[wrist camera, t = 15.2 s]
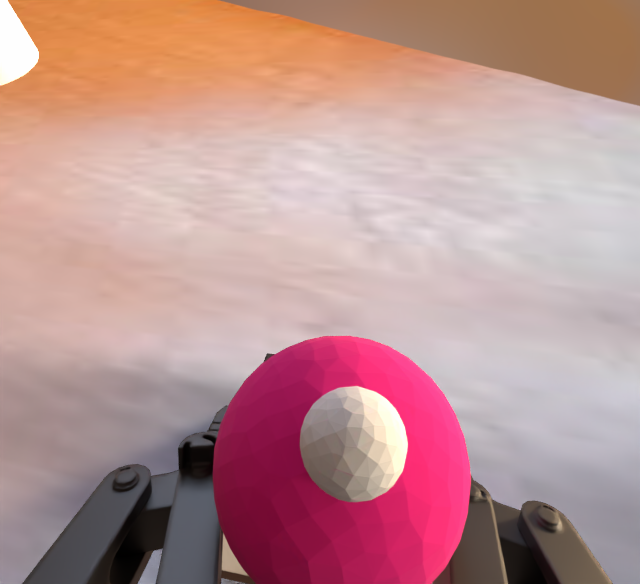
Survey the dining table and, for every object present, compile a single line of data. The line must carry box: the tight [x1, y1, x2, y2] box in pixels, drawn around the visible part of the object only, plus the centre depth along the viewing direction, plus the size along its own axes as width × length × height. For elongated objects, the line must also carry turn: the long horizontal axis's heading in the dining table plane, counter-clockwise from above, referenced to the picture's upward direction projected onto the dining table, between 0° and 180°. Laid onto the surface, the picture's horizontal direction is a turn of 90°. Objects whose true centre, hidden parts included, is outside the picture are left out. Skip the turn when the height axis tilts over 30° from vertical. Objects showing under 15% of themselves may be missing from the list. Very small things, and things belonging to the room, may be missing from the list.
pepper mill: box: [213, 336, 471, 584], centre depth 14 cm, size 7×7×20 cm
